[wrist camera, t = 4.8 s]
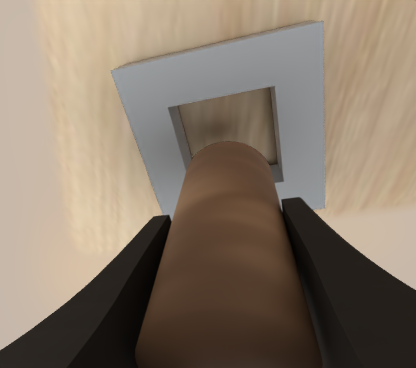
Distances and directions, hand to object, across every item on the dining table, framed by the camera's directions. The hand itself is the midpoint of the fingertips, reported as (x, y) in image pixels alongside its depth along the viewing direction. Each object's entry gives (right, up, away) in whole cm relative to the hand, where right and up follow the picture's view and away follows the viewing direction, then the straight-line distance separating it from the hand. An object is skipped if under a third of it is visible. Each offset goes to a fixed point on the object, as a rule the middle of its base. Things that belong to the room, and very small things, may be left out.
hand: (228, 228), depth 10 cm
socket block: (+1, +5, +9) cm, 10 cm away
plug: (0, +2, +3) cm, 3 cm away
